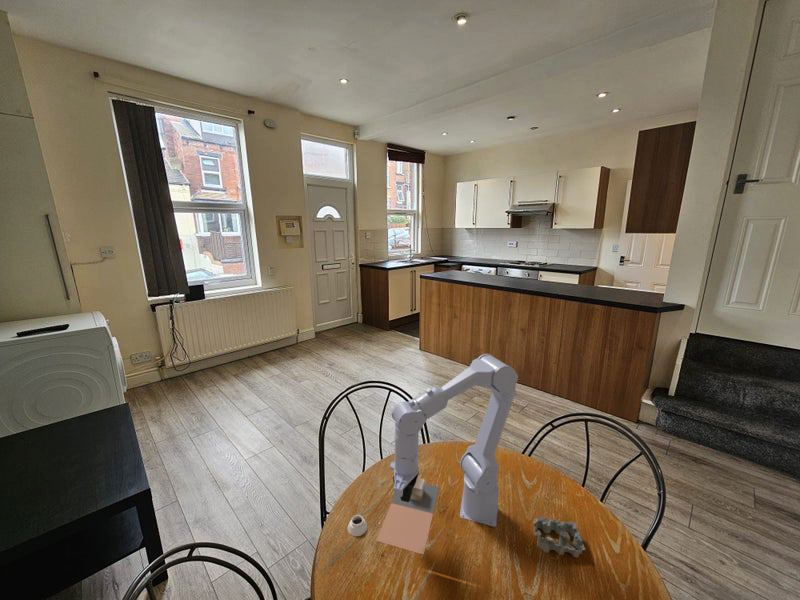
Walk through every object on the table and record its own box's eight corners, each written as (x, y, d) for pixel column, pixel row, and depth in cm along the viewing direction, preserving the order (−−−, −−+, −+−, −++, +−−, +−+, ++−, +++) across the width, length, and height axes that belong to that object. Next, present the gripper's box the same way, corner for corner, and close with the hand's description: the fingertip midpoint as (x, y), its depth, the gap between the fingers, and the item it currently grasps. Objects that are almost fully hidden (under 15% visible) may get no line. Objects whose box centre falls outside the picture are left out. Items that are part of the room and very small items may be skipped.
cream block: (424, 491, 95) (424, 479, 94) (421, 501, 91) (421, 489, 90) (411, 488, 96) (411, 476, 95) (407, 498, 92) (407, 486, 91)
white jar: (356, 518, 86) (343, 531, 82) (356, 508, 86) (343, 522, 82) (371, 527, 84) (358, 542, 79) (371, 517, 83) (358, 532, 79)
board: (439, 488, 97) (439, 486, 96) (423, 556, 76) (423, 554, 76) (401, 479, 100) (401, 478, 100) (376, 542, 79) (376, 540, 79)
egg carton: (537, 552, 77) (538, 538, 77) (531, 525, 85) (532, 512, 84) (585, 562, 75) (587, 547, 74) (575, 533, 82) (577, 520, 82)
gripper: (399, 431, 86) (398, 475, 89) (380, 468, 72) (381, 519, 75) (425, 436, 84) (423, 481, 87) (411, 474, 70) (410, 526, 73)
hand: (405, 499), depth 81 cm, fingers closed
